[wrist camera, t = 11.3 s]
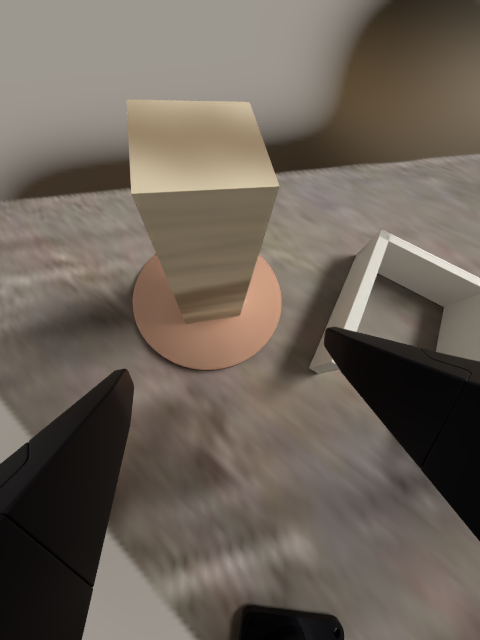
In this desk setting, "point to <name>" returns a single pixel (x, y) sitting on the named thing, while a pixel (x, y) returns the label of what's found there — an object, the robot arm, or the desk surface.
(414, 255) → the walled channel
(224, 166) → the birch block
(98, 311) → the desk surface
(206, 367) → the terracotta pad
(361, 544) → the desk surface
